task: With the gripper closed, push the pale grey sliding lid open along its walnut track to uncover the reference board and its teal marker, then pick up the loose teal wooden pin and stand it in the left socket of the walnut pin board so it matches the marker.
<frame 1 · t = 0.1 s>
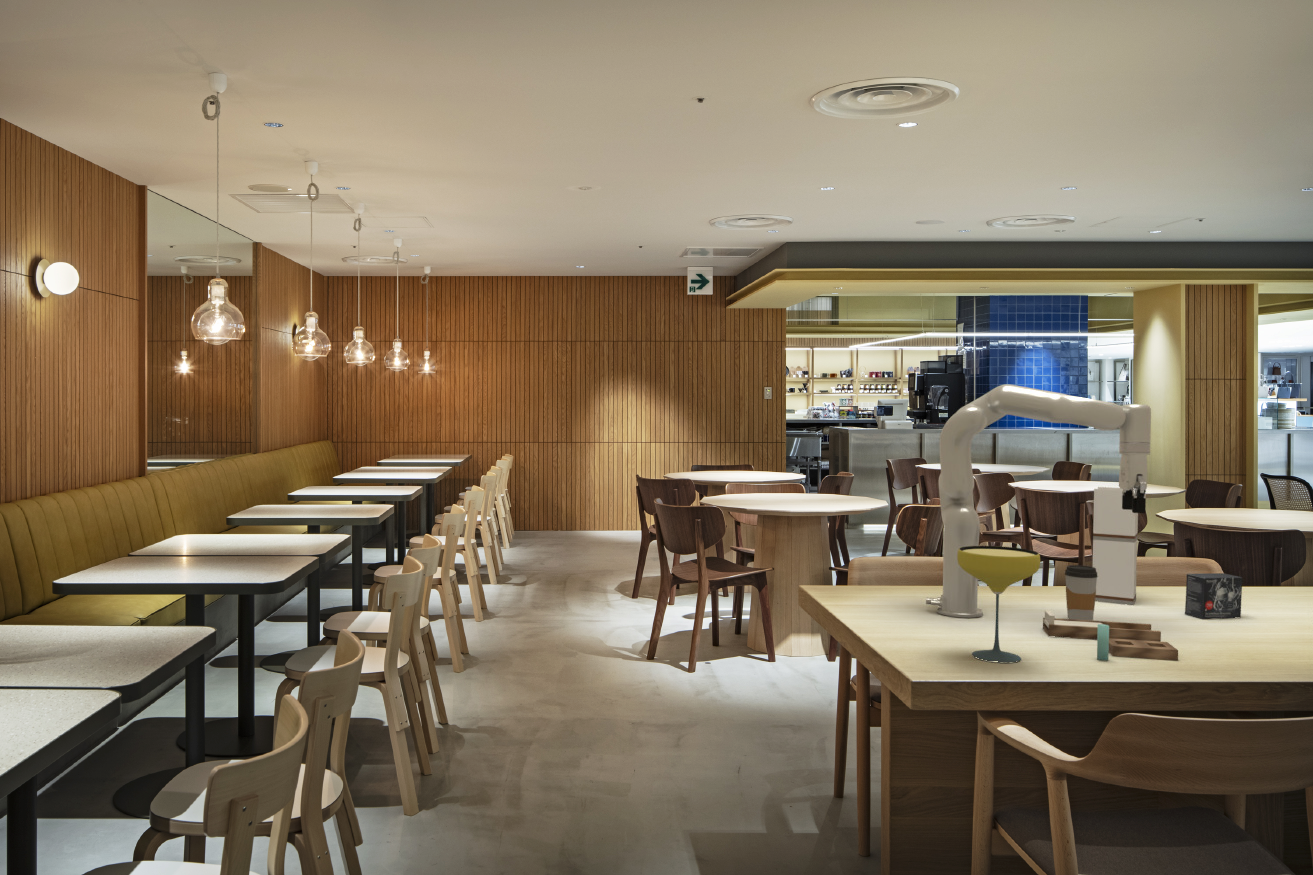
hand: (1133, 511, 244), 31 cm above the table, tool pointing down, fingers open, 9 cm apart
mini fridge: (1114, 600, 278), on the table
pin: (1102, 659, 207), on the table
coffee cup: (1080, 621, 248), on the table
lid: (1075, 620, 231), point 4 cm above the table, slide at 0.0 cm
pin board: (1139, 653, 212), on the table
small box: (1212, 617, 256), on the table
cocktail glass: (996, 657, 208), on the table
reference board: (1074, 634, 232), on the table
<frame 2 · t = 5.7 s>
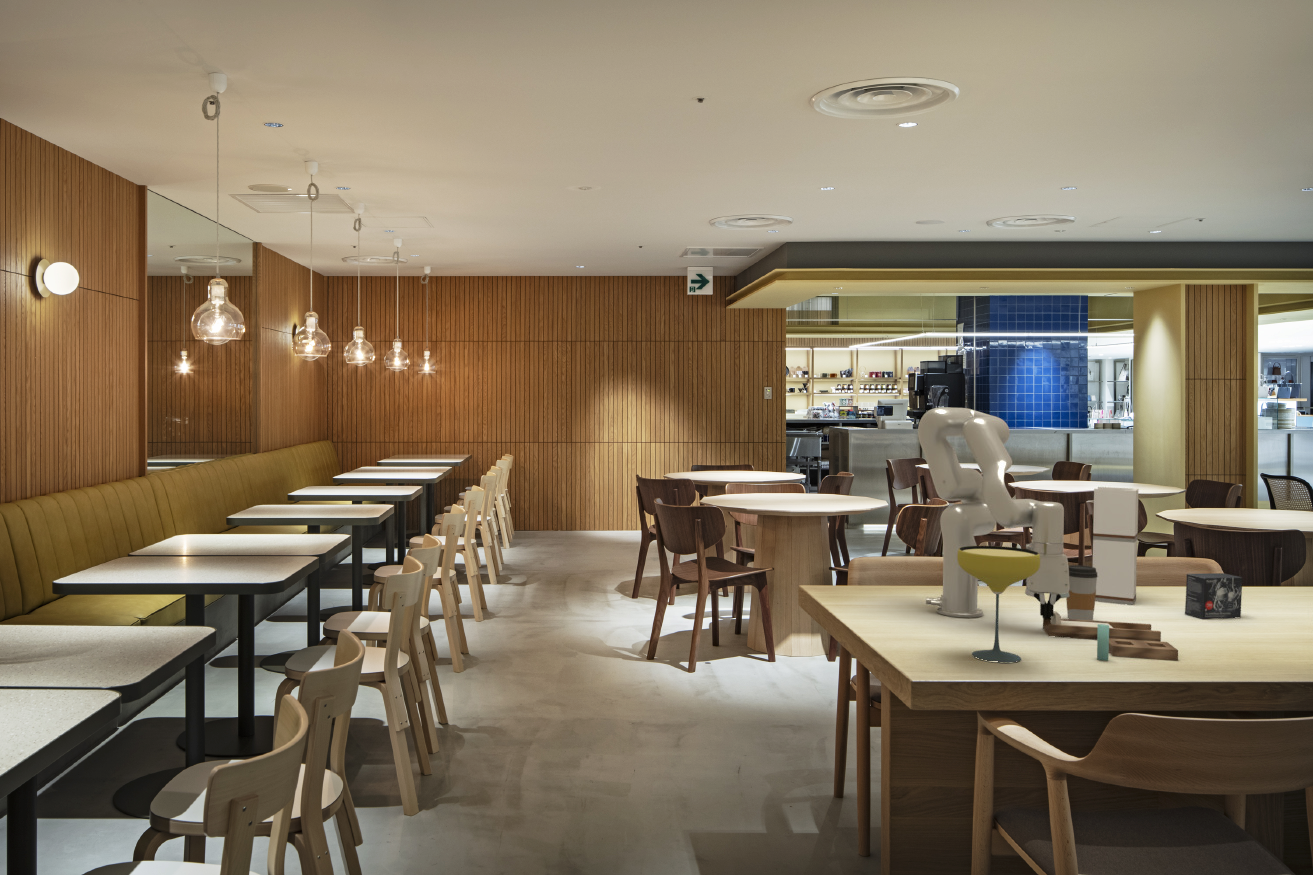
hand: (1046, 618, 233), 4 cm above the table, tool pointing down, fingers closed
lid: (1081, 620, 231), point 4 cm above the table, slide at 1.6 cm, touching gripper
everything else where it was.
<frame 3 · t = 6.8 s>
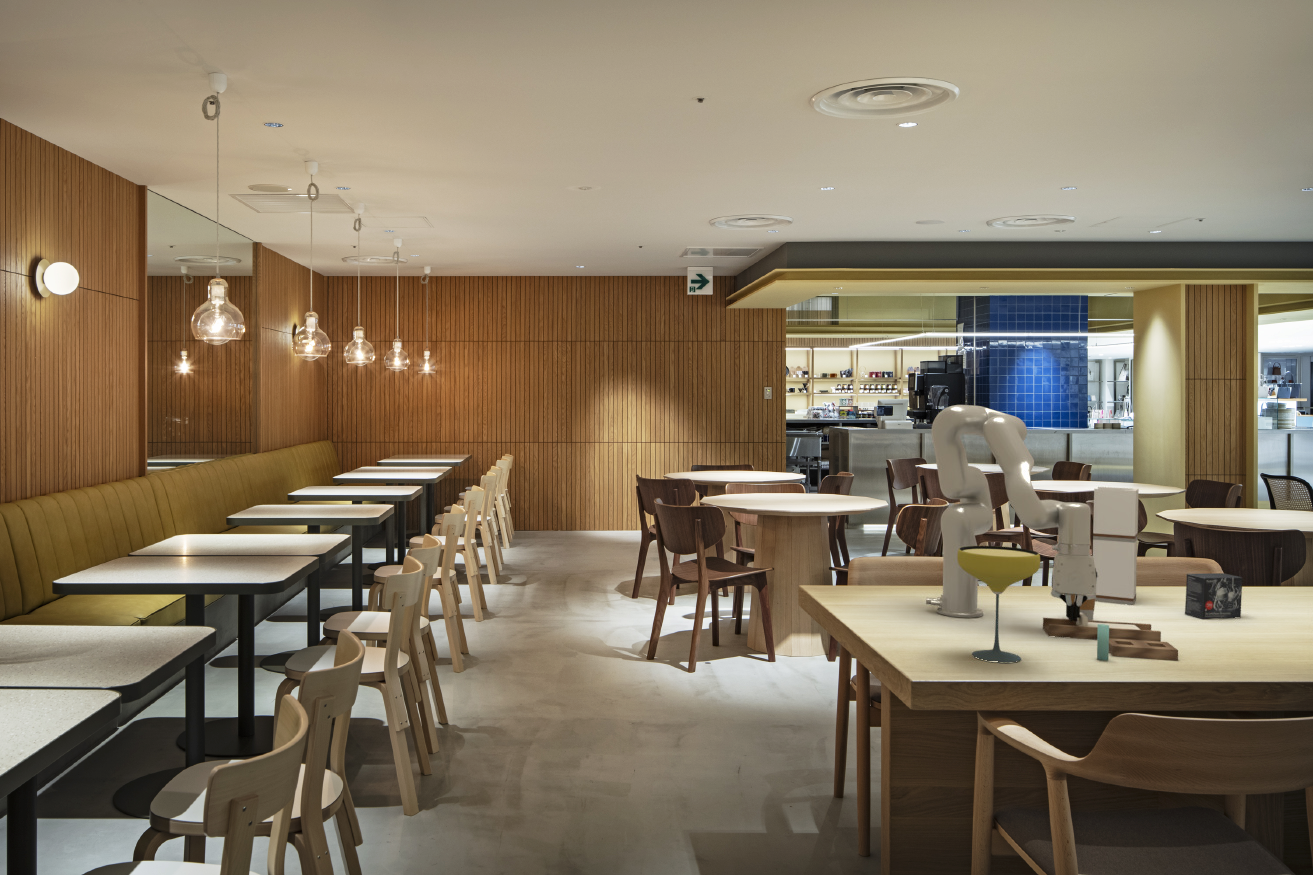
hand: (1072, 619, 231), 4 cm above the table, tool pointing down, fingers closed
lid: (1108, 622, 230), point 4 cm above the table, slide at 7.9 cm, touching gripper
everything else where it was.
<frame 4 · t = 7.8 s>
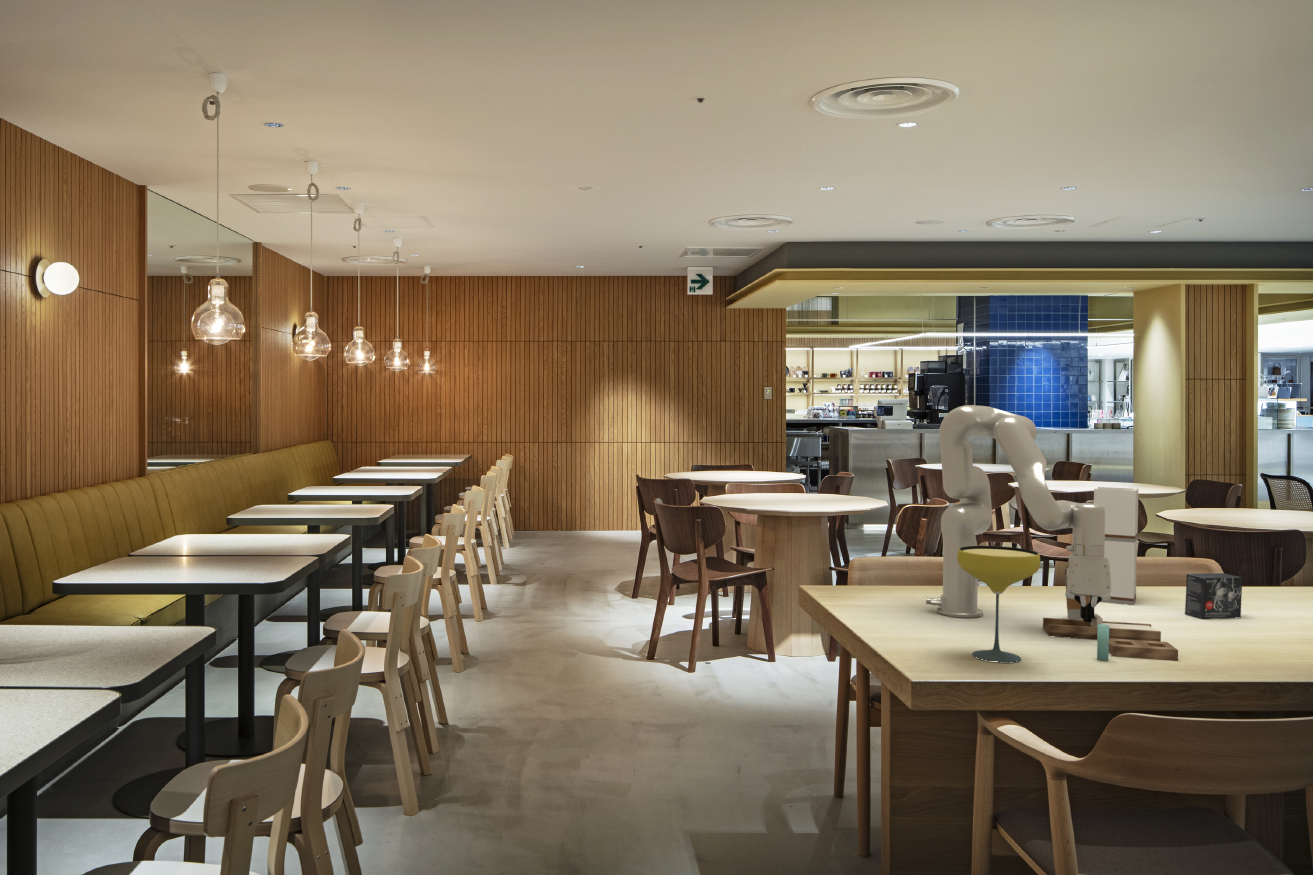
hand: (1087, 620, 231), 4 cm above the table, tool pointing down, fingers closed
lid: (1123, 623, 229), point 4 cm above the table, slide at 11.4 cm, touching gripper
everything else where it was.
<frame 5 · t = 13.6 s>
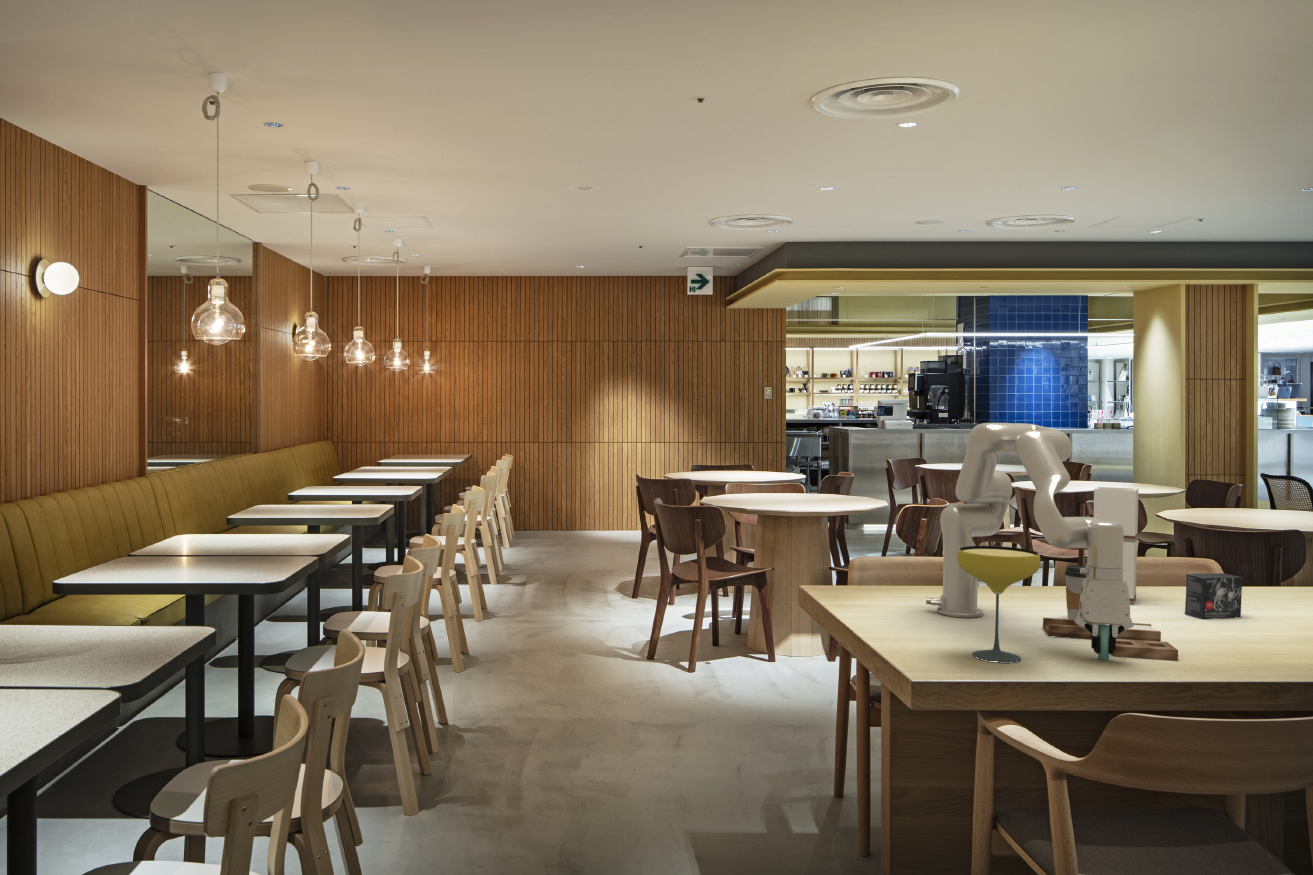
hand: (1103, 651, 207), 2 cm above the table, tool pointing down, fingers closed on pin, 2 cm apart
pin: (1103, 659, 207), on the table, touching gripper
lid: (1123, 623, 229), point 4 cm above the table, slide at 11.6 cm
everything else where it was.
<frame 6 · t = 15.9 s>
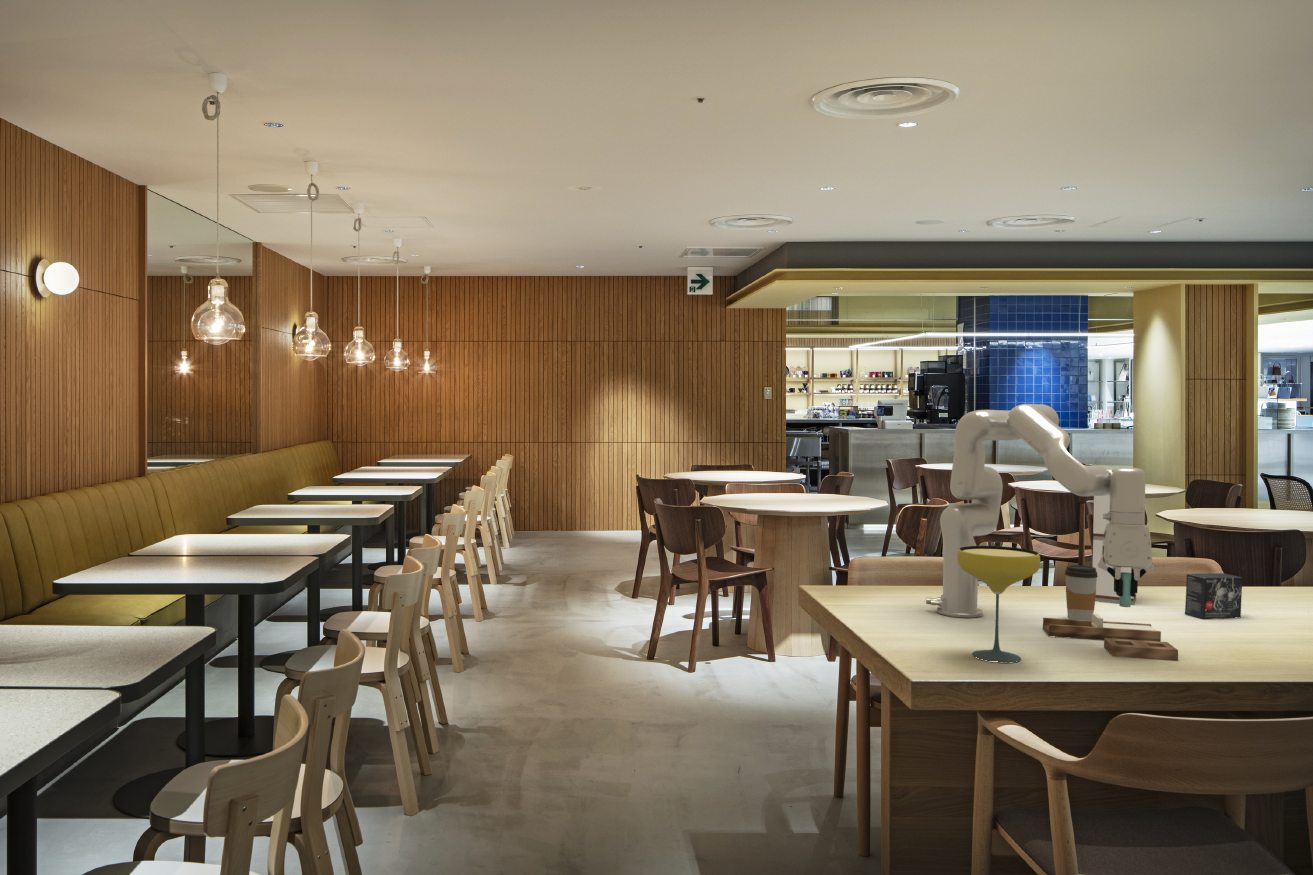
hand: (1125, 594, 213), 14 cm above the table, tool pointing down, fingers closed on pin
pin: (1125, 606, 213), point 11 cm above the table, touching gripper
everything else where it was.
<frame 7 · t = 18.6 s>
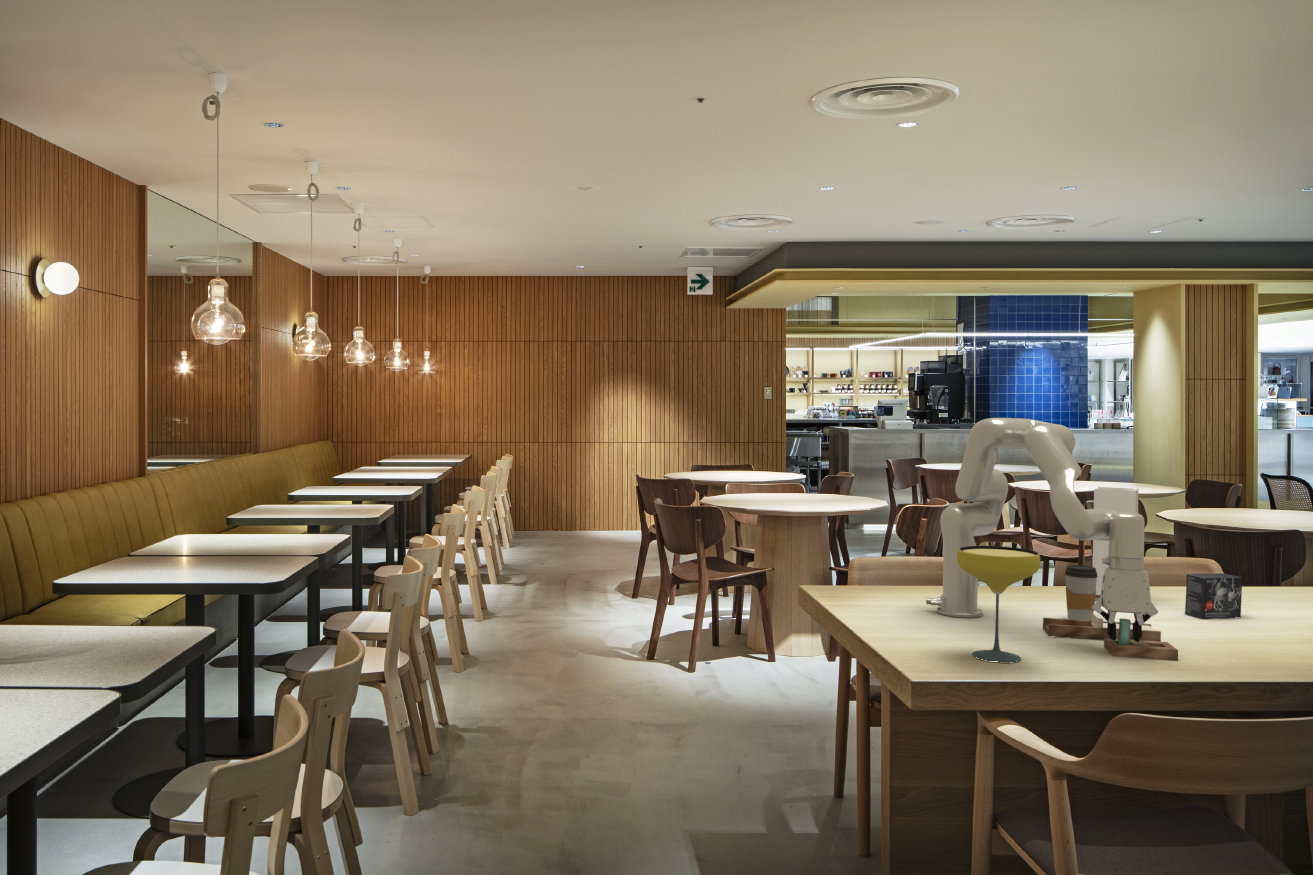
hand: (1124, 638, 213), 3 cm above the table, tool pointing down, fingers open, 4 cm apart
pin: (1123, 652, 213), resting in pin board
everything else where it was.
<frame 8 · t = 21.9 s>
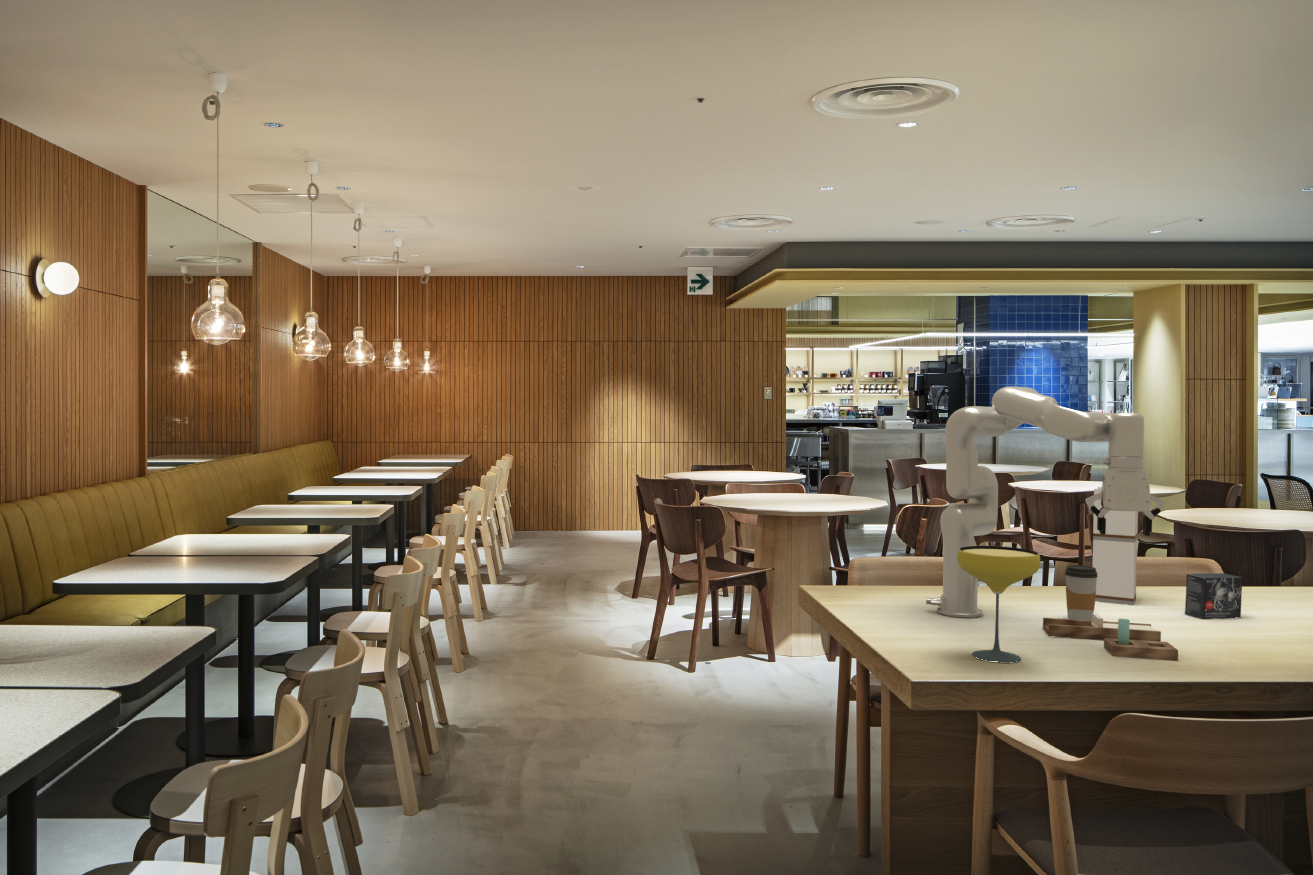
hand: (1124, 534, 215), 28 cm above the table, tool pointing down, fingers open, 9 cm apart
nothing on the table moved.
at the end: pin 0.1 cm from the target spot on the pin board, point 0.0 cm above the pin board's base; pin tilted 0°; lid slide at 11.6 cm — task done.
